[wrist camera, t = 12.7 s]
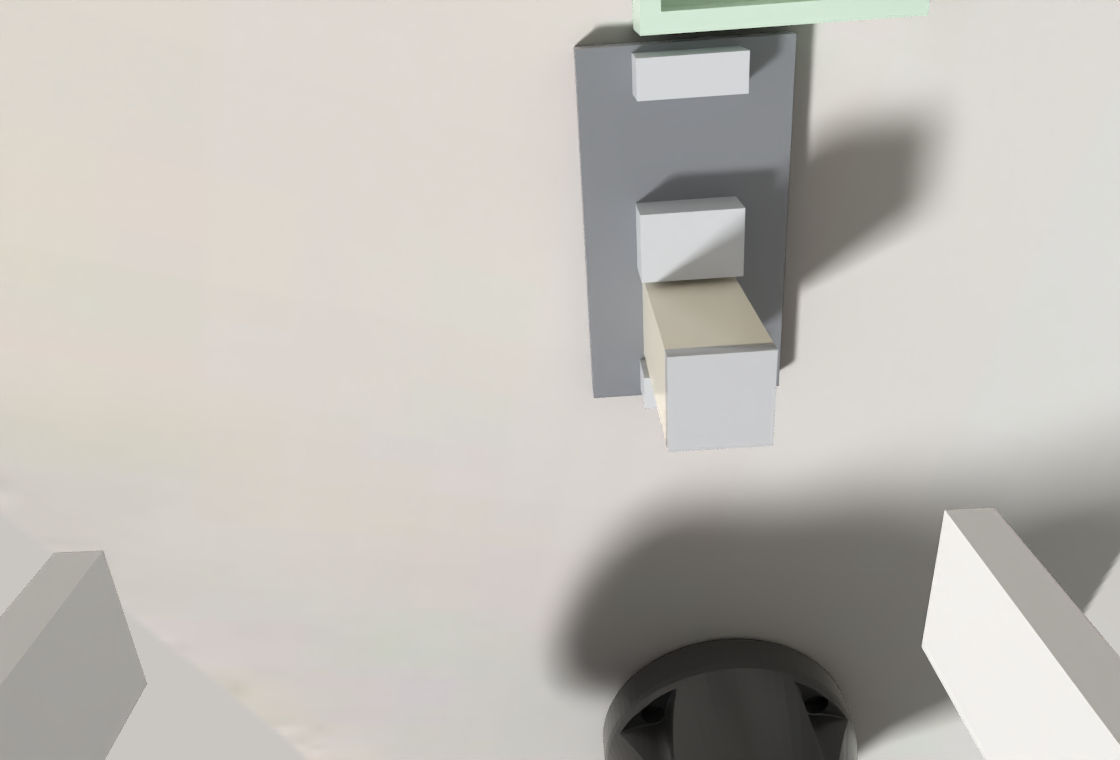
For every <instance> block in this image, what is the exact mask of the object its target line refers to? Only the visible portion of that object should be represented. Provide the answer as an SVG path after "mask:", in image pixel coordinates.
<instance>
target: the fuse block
mask: <svg viewBox="0 0 1120 760" xmlns="http://www.w3.org/2000/svg"><path fill="white" fill-rule="evenodd" d="M795 54H796V33H793V32H790V31H784V32H770V33H756V34H742V35H728V36H714V37H700V38H686V39H673V40H659V41H645V42H631V43H617V44H603V45H589V46H575V47H574V58H575V76H576V94H577V112H578V130H579V149H580V167H581V185H582V203H583V221H584V239H585V258H586V276H587V294H588V312H589V330H590V348H591V367H592V385H593V395H594V398H602V397H617V396H632V395H642V397H643V402H644V406H645V409H650V408H657V404H656V400H655V396H654V392H653V388H652V384H651V380H650V376H649V372H648V368H647V364H646V360H645V356H644V334H643V294H642V283H649V282H664V281H679V280H694V279H709V278H724V277H735V278H736V280H737V281H738V283H739V285H740V286H741V288H742V290H743V291H744V293H745V295H746V297H747V298H748V300H749V302H750V303H751V305H752V307H753V308H754V310H755V312H756V314H757V315H758V317H759V319H760V320H761V322H762V324H763V326H764V327H765V329H766V331H767V332H768V334H769V336H770V337H771V339H772V341H773V343H774V344H775V346H776V348H777V349H778V357H777V377H776V386H779V368H780V348H781V329H782V309H783V289H784V270H785V250H786V231H787V211H788V191H789V172H790V152H791V132H792V113H793V93H794V73H795Z"/></svg>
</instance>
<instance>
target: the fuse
mask: <svg viewBox="0 0 1120 760" xmlns="http://www.w3.org/2000/svg"><path fill="white" fill-rule="evenodd" d="M642 294H643V334H644V356H645V360H646V364H647V368H648V372H649V376H650V380H651V384H652V388H653V392H654V396H655V400H656V404H657V408H658V412H659V416H660V420H661V425H662V429H663V433H664V437H665V441H666V445H667V449H668V452H680V451H695V450H711V449H726V448H742V447H757V446H773V438H774V418H775V398H776V377H777V357H778V349H777V348H776V346H775V344H774V343H773V341H772V339H771V337H770V336H769V334H768V332H767V331H766V329H765V327H764V326H763V324H762V322H761V320H760V319H759V317H758V315H757V314H756V312H755V310H754V308H753V307H752V305H751V303H750V302H749V300H748V298H747V297H746V295H745V293H744V291H743V290H742V288H741V286H740V285H739V283H738V281H737V280H736V278H735V277H724V278H709V279H694V280H679V281H664V282H649V283H642Z"/></svg>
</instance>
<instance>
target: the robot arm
mask: <svg viewBox="0 0 1120 760" xmlns="http://www.w3.org/2000/svg"><path fill="white" fill-rule="evenodd" d="M922 649H923V650H924V652H925V654H926V656H927V658H928V659H929V661H930V663H931V665H932V666H933V668H934V670H935V672H936V674H937V675H938V677H939V679H940V681H941V683H942V684H943V686H944V688H945V690H946V692H947V693H948V695H949V697H950V699H951V701H952V702H953V704H954V706H955V708H956V709H957V711H958V713H959V715H960V717H961V718H962V720H963V722H964V724H965V726H966V727H967V729H968V731H969V733H970V735H971V736H972V738H973V740H974V742H975V743H976V745H977V747H978V749H979V751H980V752H981V754H982V756H983V758H984V760H1120V657H1119V656H1118V654H1117V653H1116V652H1115V651H1114V650H1113V649H1112V647H1111V646H1110V645H1109V644H1108V643H1107V641H1106V640H1105V639H1104V638H1103V637H1102V635H1101V634H1100V633H1099V632H1098V631H1097V629H1096V628H1095V627H1094V626H1093V625H1092V624H1091V622H1090V621H1089V620H1088V619H1087V617H1086V616H1085V615H1084V614H1083V613H1082V612H1081V610H1080V609H1079V608H1078V607H1077V606H1076V604H1075V603H1074V602H1073V601H1072V600H1071V598H1070V597H1069V596H1068V595H1067V594H1066V592H1065V591H1064V590H1063V589H1062V588H1061V587H1060V585H1059V584H1058V583H1057V582H1056V581H1055V579H1054V578H1053V577H1052V576H1051V575H1050V573H1049V572H1048V571H1047V570H1046V569H1045V567H1044V566H1043V565H1042V564H1041V563H1040V561H1039V560H1038V559H1037V558H1036V557H1035V556H1034V554H1033V553H1032V552H1031V551H1030V550H1029V548H1028V547H1027V546H1026V545H1025V544H1024V542H1023V541H1022V540H1021V539H1020V538H1019V536H1018V535H1017V534H1016V533H1015V532H1014V530H1013V529H1012V528H1011V527H1010V526H1009V525H1008V523H1007V522H1006V521H1005V520H1004V519H1003V517H1002V516H1001V515H1000V514H999V513H998V511H997V510H996V509H995V508H994V507H990V508H970V509H949V510H945V511H944V517H943V523H942V529H941V535H940V540H939V546H938V552H937V558H936V564H935V570H934V576H933V582H932V588H931V594H930V599H929V605H928V611H927V617H926V623H925V629H924V635H923V641H922ZM146 685H147V682H146V679H145V676H144V673H143V670H142V667H141V664H140V661H139V658H138V655H137V652H136V649H135V646H134V643H133V640H132V637H131V634H130V631H129V628H128V625H127V622H126V618H125V615H124V612H123V609H122V606H121V603H120V600H119V597H118V594H117V591H116V588H115V585H114V582H113V579H112V576H111V573H110V570H109V567H108V564H107V561H106V558H105V555H104V552H103V551H83V552H62V553H54V554H53V555H52V556H51V557H50V558H49V560H48V561H47V562H46V563H45V565H44V566H43V567H42V568H41V569H40V570H39V572H38V573H37V574H36V575H35V576H34V577H33V579H32V580H31V581H30V582H29V583H28V585H27V586H26V587H25V588H24V589H23V591H22V592H21V593H20V594H19V595H18V596H17V598H16V599H15V600H14V601H13V602H12V604H11V605H10V606H9V607H8V608H7V610H6V611H5V612H4V613H3V614H2V616H1V617H0V760H105V758H106V756H107V755H108V753H109V751H110V749H111V748H112V746H113V744H114V742H115V740H116V738H117V737H118V735H119V733H120V732H121V730H122V728H123V726H124V724H125V723H126V721H127V719H128V717H129V715H130V713H131V711H132V710H133V708H134V706H135V704H136V703H137V701H138V699H139V697H140V696H141V694H142V692H143V690H144V688H145V687H146ZM603 743H604V755H605V760H857V739H856V733H855V728H854V724H853V721H852V719H851V716H850V713H849V711H848V708H847V706H846V703H845V701H844V698H843V696H842V693H841V691H840V689H839V687H838V686H837V684H836V683H835V681H834V680H833V678H832V677H831V676H830V675H829V674H828V673H827V672H826V671H825V670H824V669H823V668H822V667H821V666H820V665H819V664H817V663H816V662H814V661H813V660H811V659H810V658H808V657H807V656H805V655H803V654H801V653H799V652H797V651H794V650H792V649H789V648H787V647H784V646H780V645H777V644H773V643H768V642H763V641H756V640H737V639H736V640H719V641H712V642H706V643H701V644H696V645H693V646H689V647H686V648H683V649H680V650H677V651H674V652H672V653H670V654H667V655H665V656H663V657H661V658H659V659H657V660H656V661H654V662H652V663H651V664H649V665H647V666H646V667H645V668H643V669H642V670H640V671H639V672H638V673H637V674H636V675H634V676H633V677H632V678H631V679H630V680H629V681H628V682H627V683H626V684H625V685H624V686H623V687H622V689H621V690H620V691H619V693H618V694H617V695H616V697H615V699H614V700H613V702H612V704H611V706H610V708H609V710H608V713H607V716H606V719H605V723H604V730H603Z"/></svg>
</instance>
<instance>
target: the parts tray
mask: <svg viewBox="0 0 1120 760" xmlns="http://www.w3.org/2000/svg"><path fill="white" fill-rule="evenodd" d="M929 3H930V0H632V5H633V30H634V31H635V32H637V33H638V34H639V35H640V36H646V35H660V34H673V33H687V32H701V31H715V30H729V29H743V28H757V27H771V26H785V25H799V24H813V23H827V22H841V21H855V20H868V19H882V18H896V17H910V16H924V15H928V12H929Z"/></svg>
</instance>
